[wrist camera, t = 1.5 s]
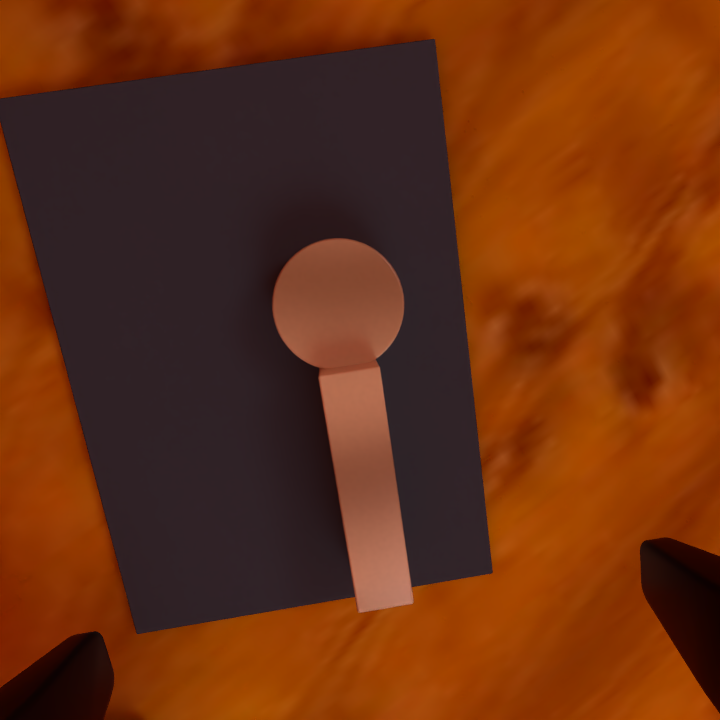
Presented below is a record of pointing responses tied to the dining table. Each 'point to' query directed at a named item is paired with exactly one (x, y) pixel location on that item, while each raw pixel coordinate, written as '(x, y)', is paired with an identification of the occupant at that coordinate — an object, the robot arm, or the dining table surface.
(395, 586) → the wooden spoon
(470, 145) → the dining table surface
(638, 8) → the dining table surface
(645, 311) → the dining table surface
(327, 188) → the placemat
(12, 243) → the dining table surface
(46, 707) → the robot arm
